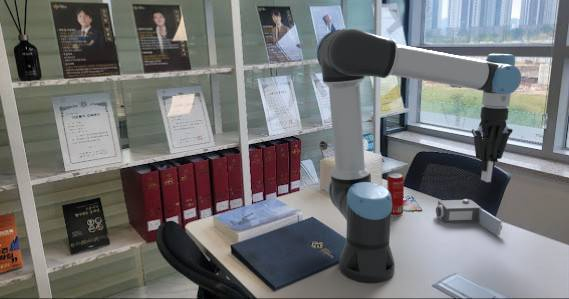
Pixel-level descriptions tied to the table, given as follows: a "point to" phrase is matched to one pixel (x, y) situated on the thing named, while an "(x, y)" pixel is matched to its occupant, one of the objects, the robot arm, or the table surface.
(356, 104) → the robot arm
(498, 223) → the side door
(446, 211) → the grey video camera
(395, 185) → the beverage can
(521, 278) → the table surface
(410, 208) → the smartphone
